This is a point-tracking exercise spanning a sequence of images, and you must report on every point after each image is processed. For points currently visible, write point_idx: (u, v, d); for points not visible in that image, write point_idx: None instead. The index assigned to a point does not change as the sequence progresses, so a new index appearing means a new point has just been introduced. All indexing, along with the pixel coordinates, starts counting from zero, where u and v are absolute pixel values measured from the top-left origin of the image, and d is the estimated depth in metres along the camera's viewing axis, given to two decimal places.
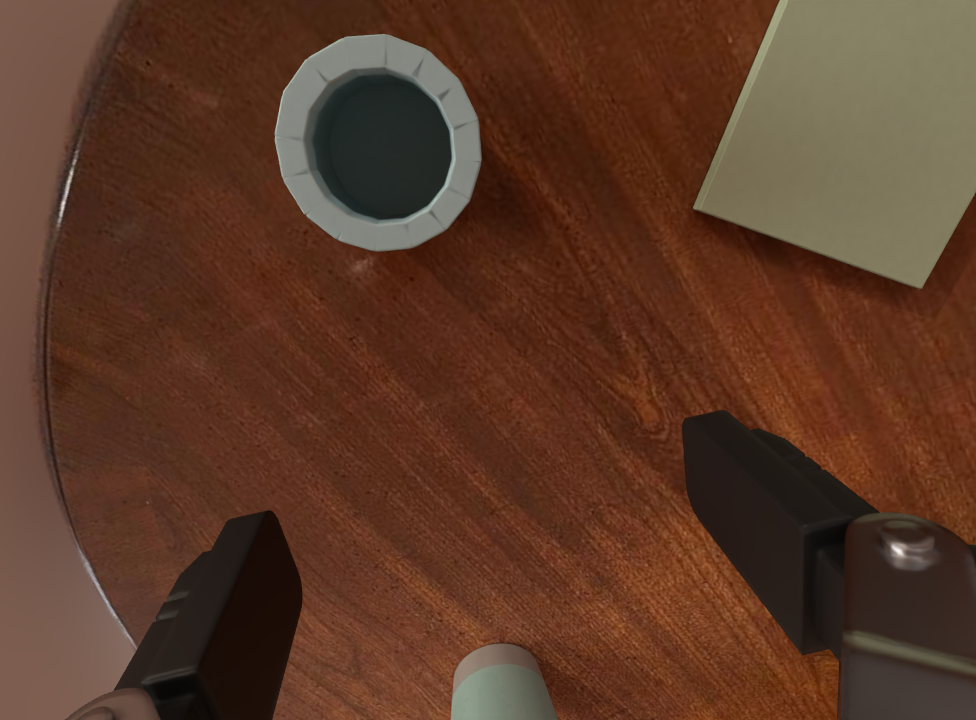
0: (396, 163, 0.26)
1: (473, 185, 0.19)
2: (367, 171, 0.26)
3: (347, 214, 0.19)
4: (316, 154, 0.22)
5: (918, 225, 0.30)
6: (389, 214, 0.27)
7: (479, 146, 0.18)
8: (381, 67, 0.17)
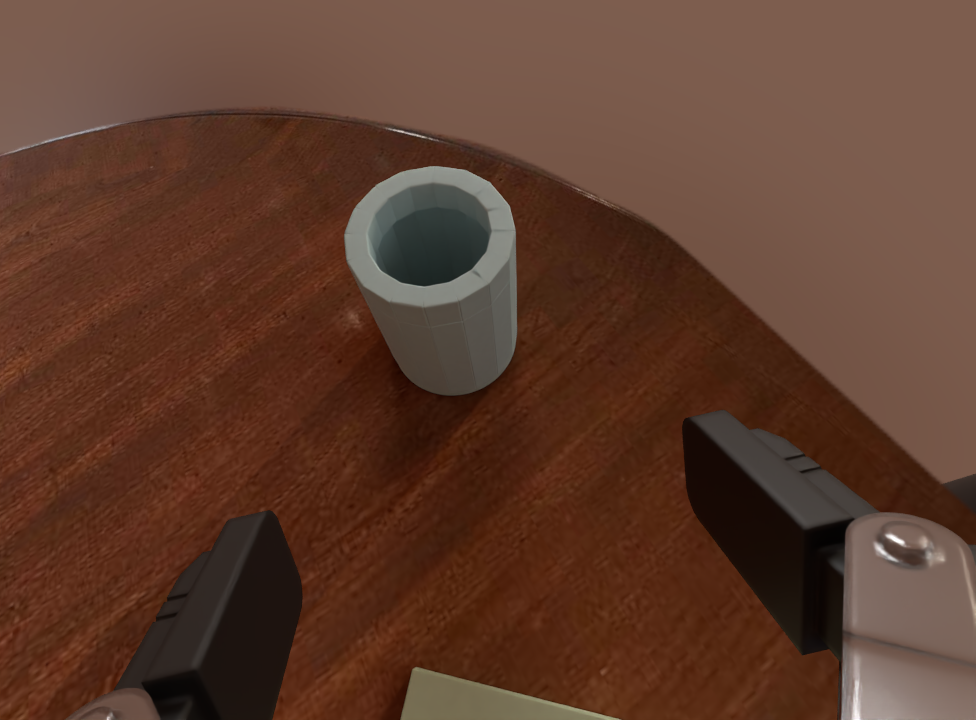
0: None
1: (402, 303, 0.20)
2: None
3: (375, 214, 0.22)
4: (437, 245, 0.27)
5: None
6: None
7: (436, 305, 0.20)
8: (491, 229, 0.21)
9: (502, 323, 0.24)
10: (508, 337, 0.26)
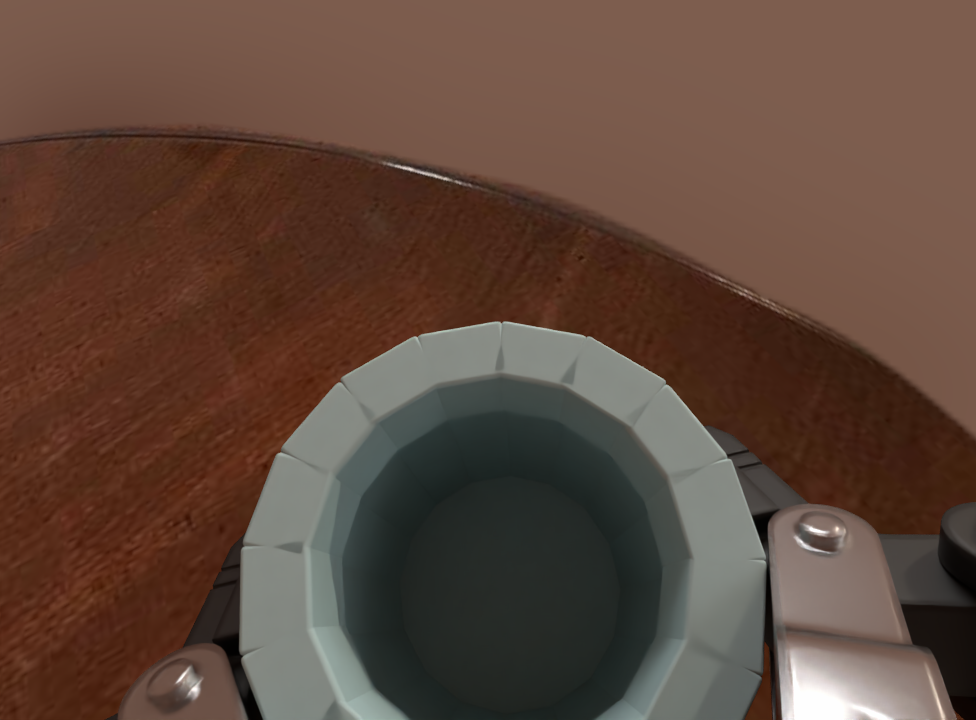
0: (488, 592, 0.15)
1: None
2: (472, 540, 0.15)
3: (339, 473, 0.08)
4: (486, 441, 0.12)
5: None
6: (401, 582, 0.15)
7: None
8: (688, 549, 0.07)
9: None
10: None
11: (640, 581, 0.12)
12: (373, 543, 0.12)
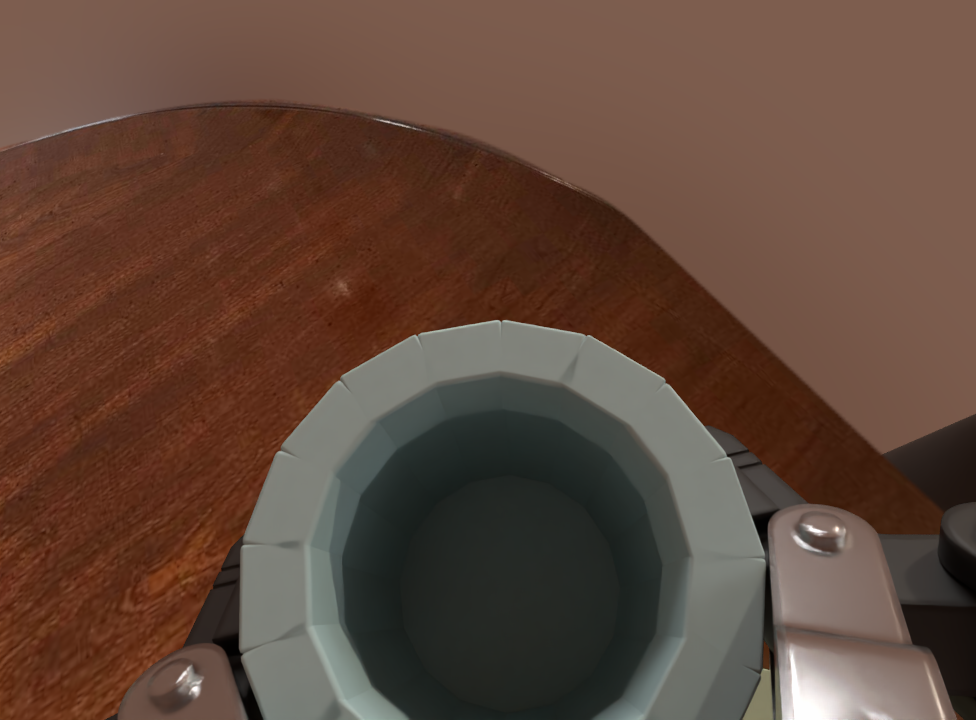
0: (488, 591, 0.15)
1: None
2: (471, 539, 0.15)
3: (338, 471, 0.08)
4: (485, 440, 0.12)
5: None
6: (400, 581, 0.15)
7: None
8: (687, 547, 0.07)
9: None
10: None
11: (640, 580, 0.12)
12: (373, 542, 0.12)
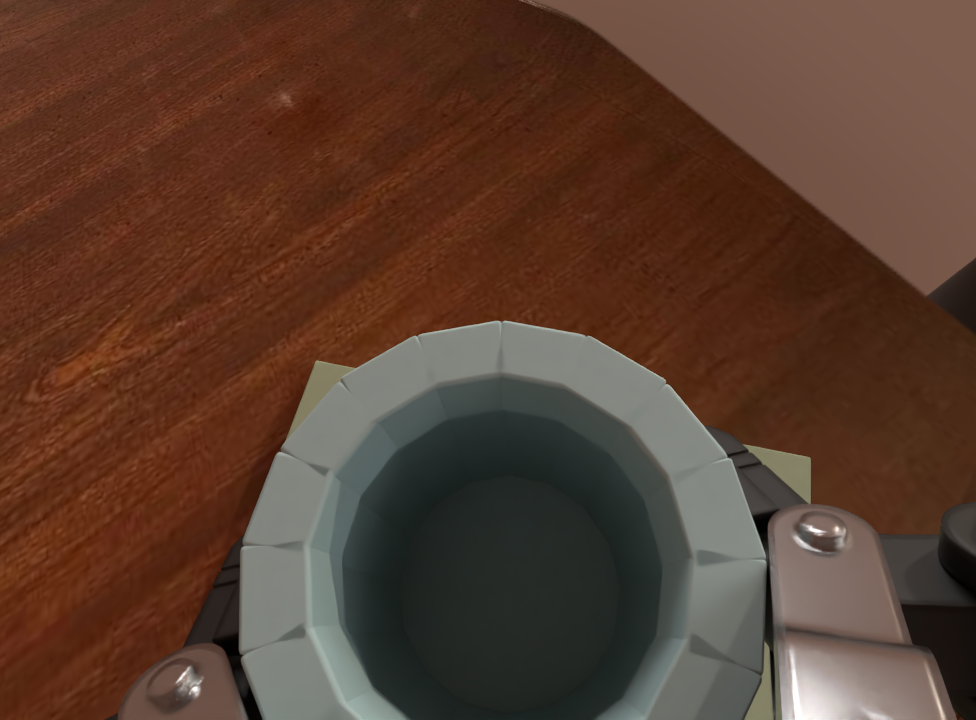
0: (488, 592, 0.15)
1: None
2: (471, 539, 0.15)
3: (338, 472, 0.08)
4: (486, 440, 0.12)
5: None
6: (400, 582, 0.15)
7: None
8: (688, 548, 0.07)
9: None
10: None
11: (640, 581, 0.12)
12: (373, 543, 0.12)
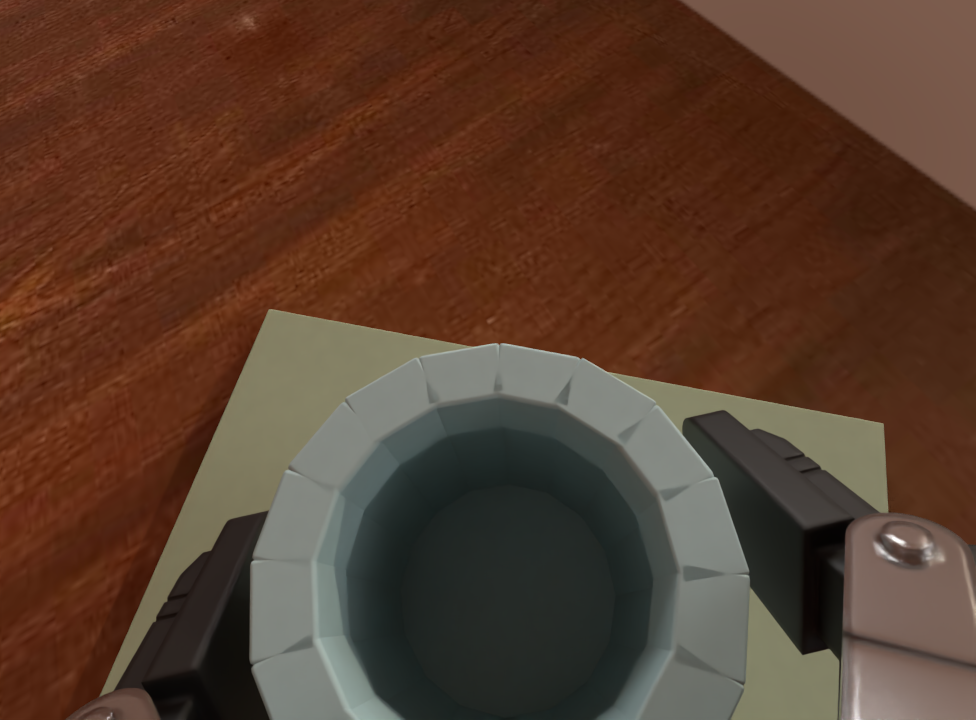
0: (486, 598, 0.15)
1: None
2: (471, 547, 0.16)
3: (343, 489, 0.08)
4: (484, 452, 0.13)
5: None
6: (401, 588, 0.15)
7: None
8: (676, 563, 0.07)
9: None
10: None
11: (634, 589, 0.12)
12: (375, 552, 0.12)
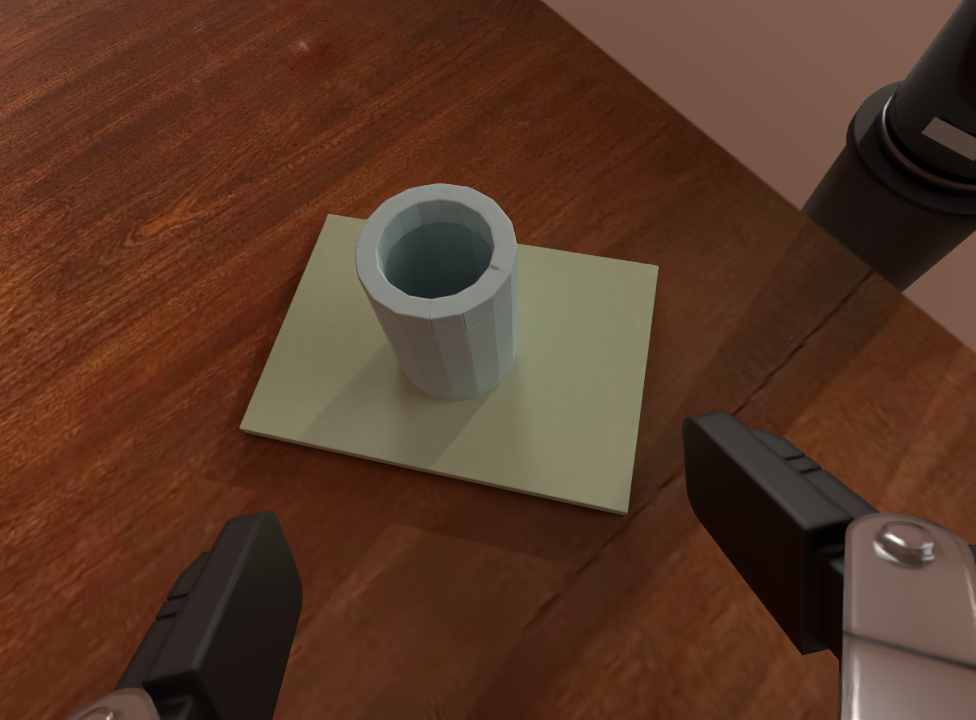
0: None
1: (409, 315, 0.21)
2: None
3: (384, 229, 0.23)
4: (442, 256, 0.28)
5: (305, 400, 0.30)
6: None
7: (441, 316, 0.21)
8: (494, 245, 0.22)
9: (504, 333, 0.25)
10: (509, 345, 0.27)
11: None
12: None
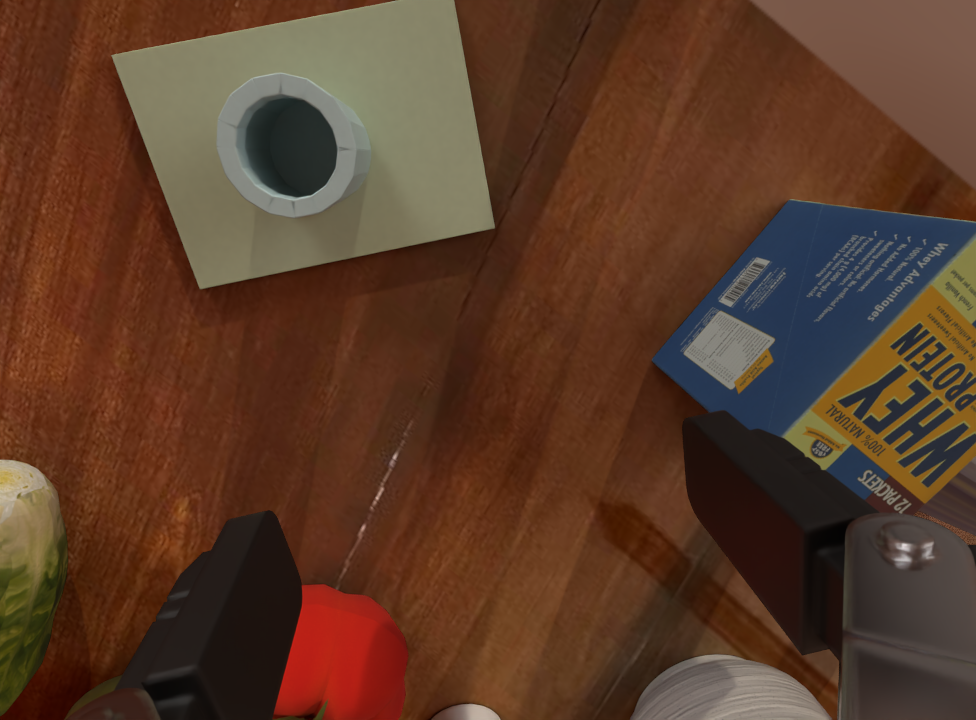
0: (311, 156, 0.35)
1: (303, 215, 0.28)
2: (293, 138, 0.35)
3: (236, 146, 0.27)
4: (273, 102, 0.30)
5: (231, 248, 0.37)
6: (275, 168, 0.35)
7: (327, 207, 0.28)
8: (331, 126, 0.27)
9: (363, 162, 0.31)
10: (367, 154, 0.33)
11: None
12: (256, 159, 0.31)
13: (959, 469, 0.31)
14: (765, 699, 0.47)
